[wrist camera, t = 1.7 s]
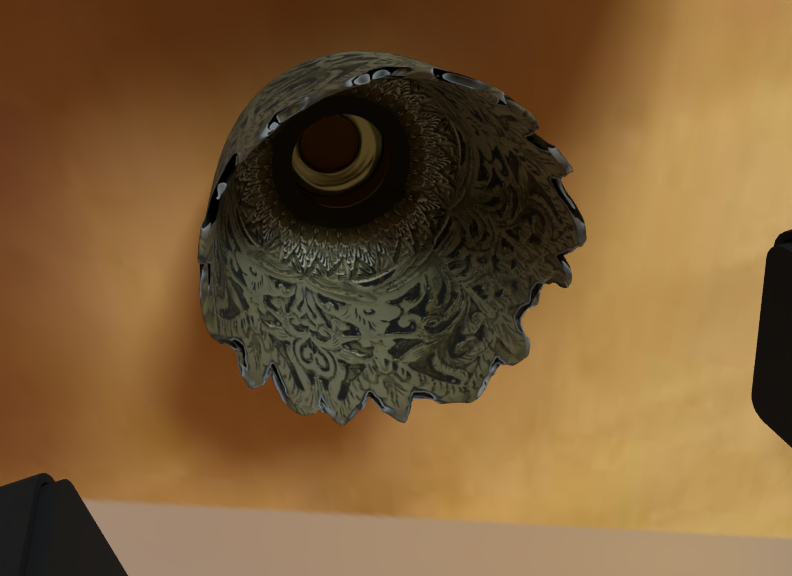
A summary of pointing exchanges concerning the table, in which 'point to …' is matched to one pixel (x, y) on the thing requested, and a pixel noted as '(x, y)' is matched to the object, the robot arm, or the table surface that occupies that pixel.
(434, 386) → the cup
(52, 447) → the table surface
